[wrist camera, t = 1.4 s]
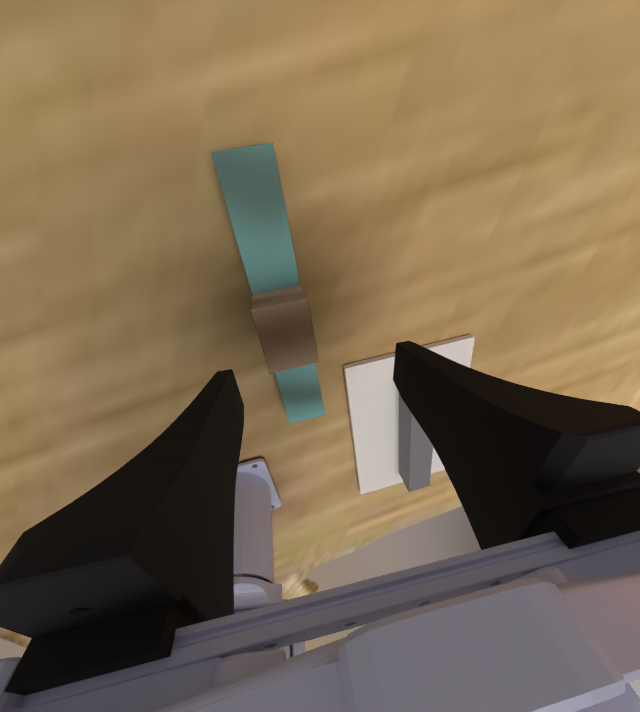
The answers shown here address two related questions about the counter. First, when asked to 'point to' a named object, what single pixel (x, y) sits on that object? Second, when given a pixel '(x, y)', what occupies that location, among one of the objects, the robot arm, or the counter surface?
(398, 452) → the ridge board
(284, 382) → the bar
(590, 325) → the counter surface
